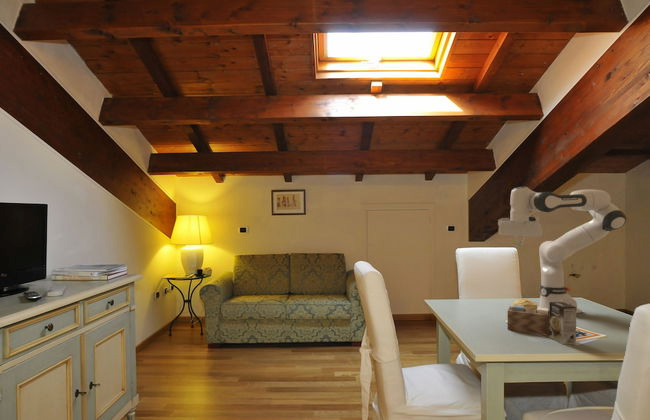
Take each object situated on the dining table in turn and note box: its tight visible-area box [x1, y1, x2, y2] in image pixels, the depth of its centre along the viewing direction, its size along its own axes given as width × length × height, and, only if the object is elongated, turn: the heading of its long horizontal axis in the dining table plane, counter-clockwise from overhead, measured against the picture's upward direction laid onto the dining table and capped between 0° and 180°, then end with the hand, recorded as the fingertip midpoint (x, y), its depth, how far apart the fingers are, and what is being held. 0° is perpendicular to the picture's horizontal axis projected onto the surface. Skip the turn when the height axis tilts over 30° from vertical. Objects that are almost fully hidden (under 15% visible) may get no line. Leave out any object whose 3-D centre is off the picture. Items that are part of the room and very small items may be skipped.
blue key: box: [513, 305, 524, 312], centre depth 191 cm, size 4×4×4 cm
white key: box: [537, 306, 548, 314], centre depth 186 cm, size 4×4×4 cm
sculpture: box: [511, 298, 539, 309], centre depth 206 cm, size 12×12×11 cm
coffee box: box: [549, 302, 577, 345], centre depth 172 cm, size 9×6×16 cm
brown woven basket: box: [507, 305, 550, 336], centre depth 188 cm, size 19×10×9 cm, turn 59°
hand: (519, 244), depth 204 cm, fingers closed
